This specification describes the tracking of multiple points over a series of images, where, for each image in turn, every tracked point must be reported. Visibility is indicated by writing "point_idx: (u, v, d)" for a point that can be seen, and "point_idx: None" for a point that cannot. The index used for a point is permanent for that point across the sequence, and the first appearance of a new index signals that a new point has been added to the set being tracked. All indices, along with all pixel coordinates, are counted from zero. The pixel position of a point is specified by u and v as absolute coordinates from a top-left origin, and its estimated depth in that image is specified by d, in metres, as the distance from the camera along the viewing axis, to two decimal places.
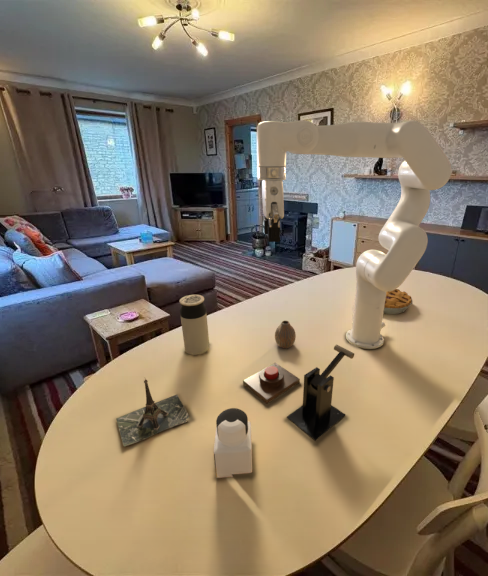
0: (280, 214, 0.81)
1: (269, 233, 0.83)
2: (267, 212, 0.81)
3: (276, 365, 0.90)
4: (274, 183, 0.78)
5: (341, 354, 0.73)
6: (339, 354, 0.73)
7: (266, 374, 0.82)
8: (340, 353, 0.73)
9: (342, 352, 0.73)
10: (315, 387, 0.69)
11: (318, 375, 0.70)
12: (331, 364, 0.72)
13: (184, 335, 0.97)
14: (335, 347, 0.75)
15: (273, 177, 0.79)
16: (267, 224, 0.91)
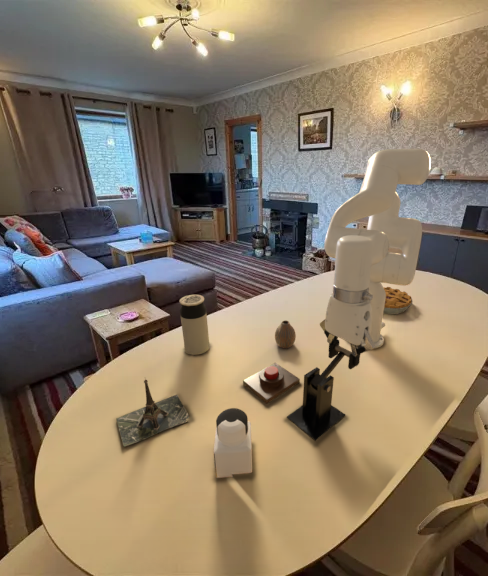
0: None
1: (351, 361, 0.71)
2: (360, 340, 0.67)
3: (276, 365, 0.90)
4: (367, 307, 0.66)
5: (341, 354, 0.73)
6: (339, 354, 0.73)
7: (266, 374, 0.82)
8: (340, 353, 0.73)
9: (342, 352, 0.73)
10: (315, 387, 0.69)
11: (318, 375, 0.70)
12: (331, 364, 0.72)
13: (184, 335, 0.97)
14: (335, 347, 0.75)
15: None
16: (333, 347, 0.75)
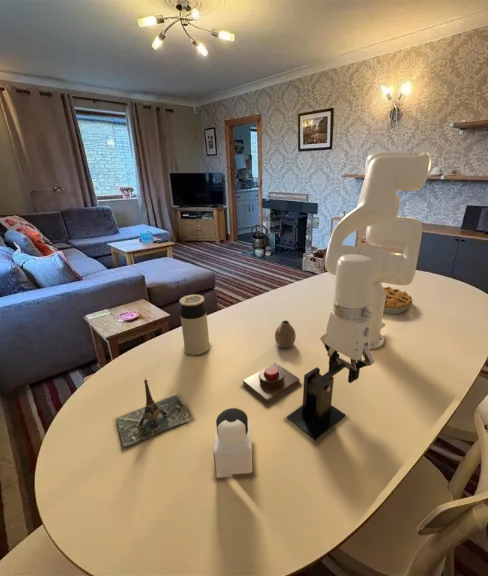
0: None
1: (351, 375, 0.73)
2: (359, 355, 0.69)
3: (276, 365, 0.90)
4: (367, 323, 0.68)
5: (342, 364, 0.75)
6: (340, 364, 0.75)
7: (266, 374, 0.82)
8: (341, 363, 0.75)
9: (343, 363, 0.75)
10: (315, 385, 0.69)
11: (320, 375, 0.70)
12: (332, 370, 0.73)
13: (184, 335, 0.97)
14: (337, 358, 0.77)
15: None
16: (333, 361, 0.77)
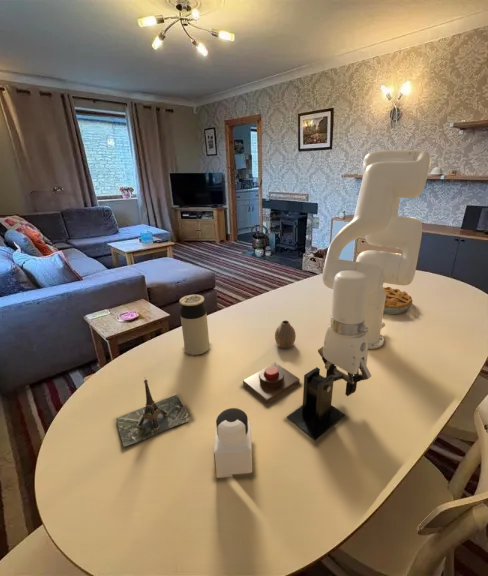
0: None
1: (349, 388, 0.74)
2: (356, 369, 0.70)
3: (276, 365, 0.90)
4: (363, 338, 0.69)
5: (341, 375, 0.76)
6: (339, 374, 0.76)
7: (266, 374, 0.82)
8: (340, 374, 0.76)
9: (342, 374, 0.76)
10: (316, 383, 0.68)
11: (320, 376, 0.71)
12: None
13: (184, 335, 0.97)
14: (335, 369, 0.78)
15: None
16: (331, 373, 0.78)
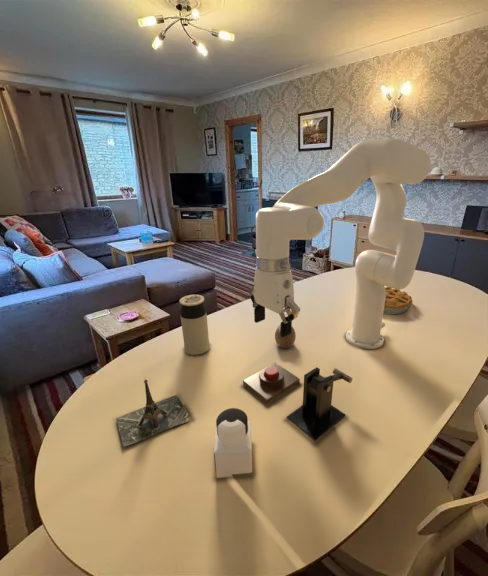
0: None
1: (283, 329, 0.72)
2: (281, 308, 0.70)
3: (276, 365, 0.90)
4: (287, 276, 0.69)
5: (341, 375, 0.76)
6: (339, 374, 0.76)
7: (266, 374, 0.82)
8: (340, 374, 0.76)
9: (342, 374, 0.76)
10: (316, 383, 0.68)
11: (320, 376, 0.71)
12: None
13: (184, 335, 0.97)
14: (335, 369, 0.78)
15: (283, 269, 0.69)
16: (258, 312, 0.79)
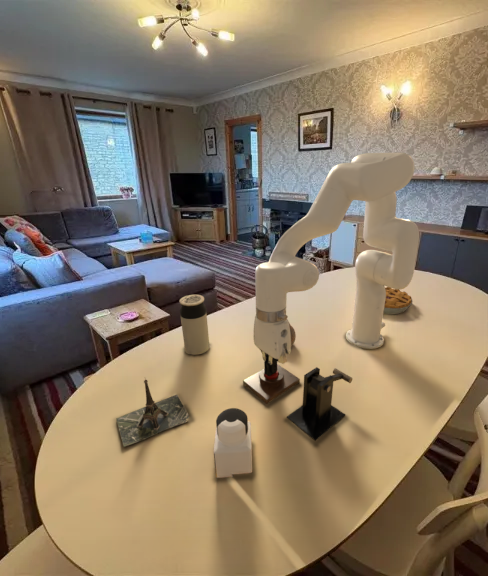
0: (289, 351, 0.77)
1: (269, 369, 0.81)
2: (278, 354, 0.75)
3: None
4: (284, 325, 0.74)
5: (341, 375, 0.76)
6: (339, 374, 0.76)
7: (266, 377, 0.82)
8: (340, 374, 0.76)
9: (342, 374, 0.76)
10: (316, 383, 0.68)
11: (320, 376, 0.71)
12: None
13: (184, 335, 0.97)
14: (335, 369, 0.78)
15: (281, 319, 0.74)
16: None
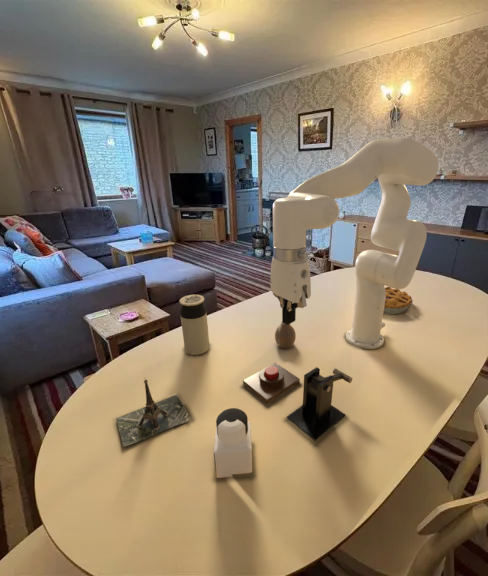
0: (309, 295, 0.73)
1: (287, 316, 0.77)
2: (298, 297, 0.71)
3: (276, 365, 0.90)
4: (304, 265, 0.69)
5: (341, 375, 0.76)
6: (339, 374, 0.76)
7: (266, 374, 0.82)
8: (340, 374, 0.76)
9: (342, 374, 0.76)
10: (316, 383, 0.68)
11: (320, 376, 0.71)
12: None
13: (184, 335, 0.97)
14: (335, 369, 0.78)
15: (300, 259, 0.69)
16: None
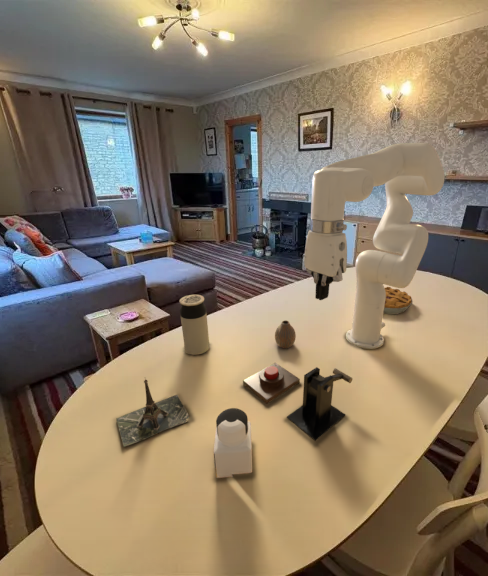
0: (344, 269, 0.73)
1: (321, 291, 0.76)
2: (335, 270, 0.71)
3: (276, 365, 0.90)
4: (342, 238, 0.69)
5: (341, 375, 0.76)
6: (339, 374, 0.76)
7: (266, 374, 0.82)
8: (340, 374, 0.76)
9: (342, 374, 0.76)
10: (316, 383, 0.68)
11: (320, 376, 0.71)
12: None
13: (184, 335, 0.97)
14: (335, 369, 0.78)
15: (339, 231, 0.69)
16: None
